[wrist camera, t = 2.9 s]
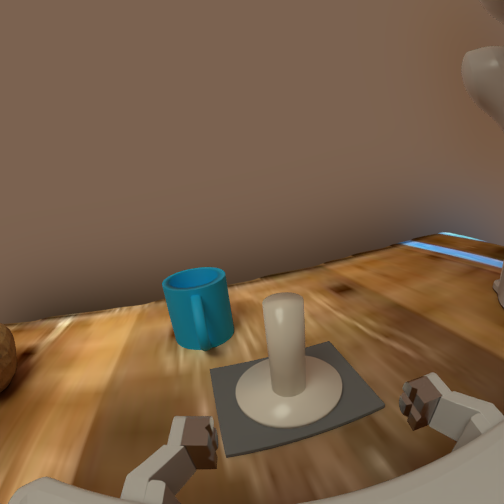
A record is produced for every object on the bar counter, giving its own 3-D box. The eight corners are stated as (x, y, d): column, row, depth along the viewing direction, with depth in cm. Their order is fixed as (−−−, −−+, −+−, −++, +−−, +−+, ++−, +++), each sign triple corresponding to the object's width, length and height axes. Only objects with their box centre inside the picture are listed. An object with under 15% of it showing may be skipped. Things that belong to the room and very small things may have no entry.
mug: (176, 324, 41) (164, 273, 38) (229, 315, 42) (221, 263, 40) (175, 372, 29) (156, 310, 27) (245, 360, 31) (235, 296, 29)
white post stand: (317, 350, 30) (315, 270, 28) (360, 406, 21) (372, 312, 18) (229, 371, 28) (213, 289, 26) (248, 441, 19) (228, 349, 16)
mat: (328, 343, 31) (329, 341, 31) (384, 407, 20) (385, 404, 20) (210, 371, 29) (209, 369, 29) (226, 457, 18) (225, 455, 18)
